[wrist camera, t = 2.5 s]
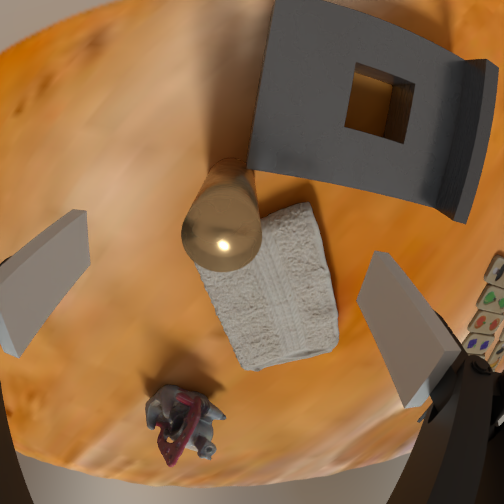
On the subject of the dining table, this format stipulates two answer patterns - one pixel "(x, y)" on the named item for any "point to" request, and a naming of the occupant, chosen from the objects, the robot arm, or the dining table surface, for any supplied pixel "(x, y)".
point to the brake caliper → (182, 422)
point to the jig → (399, 116)
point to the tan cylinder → (224, 219)
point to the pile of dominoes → (488, 316)
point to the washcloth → (278, 294)
